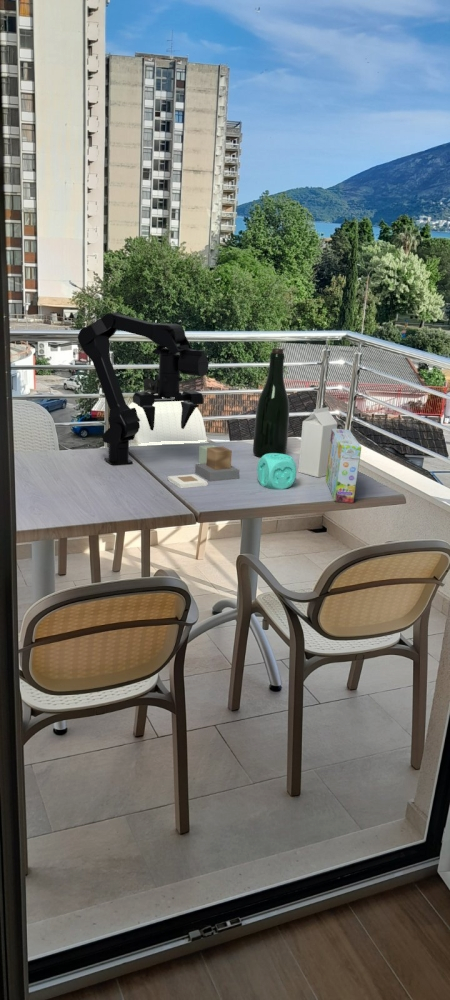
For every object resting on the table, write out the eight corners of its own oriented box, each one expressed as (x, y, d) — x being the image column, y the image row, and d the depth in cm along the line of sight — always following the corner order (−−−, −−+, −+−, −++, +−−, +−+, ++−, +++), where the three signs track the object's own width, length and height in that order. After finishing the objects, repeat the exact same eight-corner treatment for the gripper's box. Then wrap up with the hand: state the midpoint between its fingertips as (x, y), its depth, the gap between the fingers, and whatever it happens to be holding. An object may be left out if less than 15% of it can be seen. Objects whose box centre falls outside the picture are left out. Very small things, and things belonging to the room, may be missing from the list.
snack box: (355, 503, 191) (362, 446, 186) (333, 502, 191) (340, 444, 186) (344, 481, 211) (350, 428, 206) (324, 479, 211) (329, 427, 206)
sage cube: (198, 462, 221) (199, 446, 219) (213, 461, 223) (214, 445, 222) (206, 467, 217) (206, 450, 215) (221, 465, 219) (222, 449, 217)
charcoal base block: (194, 474, 210) (195, 464, 209) (223, 472, 214) (223, 461, 213) (209, 483, 202) (210, 472, 201) (238, 480, 206) (239, 470, 206)
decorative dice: (255, 482, 204) (257, 453, 202) (282, 480, 207) (284, 452, 205) (268, 490, 197) (270, 461, 195) (295, 488, 200) (297, 459, 198)
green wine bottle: (264, 449, 241) (272, 345, 231) (292, 455, 235) (301, 349, 225) (246, 455, 233) (253, 347, 223) (274, 461, 227) (283, 351, 217)
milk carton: (332, 474, 217) (339, 409, 211) (317, 478, 212) (324, 411, 206) (312, 468, 221) (318, 405, 216) (297, 472, 216) (303, 407, 211)
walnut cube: (214, 469, 204) (215, 451, 203) (206, 465, 208) (207, 447, 207) (230, 468, 207) (231, 450, 205) (222, 463, 211) (222, 446, 209)
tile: (167, 479, 201) (167, 475, 201) (194, 477, 205) (194, 473, 204) (180, 488, 194) (180, 484, 194) (207, 485, 198) (207, 481, 198)
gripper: (187, 367, 212) (185, 421, 217) (125, 368, 203) (124, 424, 208) (205, 373, 203) (202, 430, 207) (141, 374, 194) (139, 433, 199)
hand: (167, 429), depth 205 cm, fingers open, 9 cm apart
